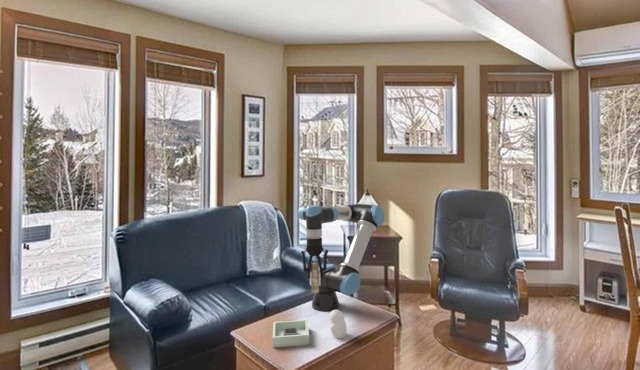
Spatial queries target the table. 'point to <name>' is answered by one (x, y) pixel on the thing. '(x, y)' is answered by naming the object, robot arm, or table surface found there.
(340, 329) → the figurine
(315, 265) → the beige wooden dowel
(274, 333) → the green square socket tray
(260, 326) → the table surface
